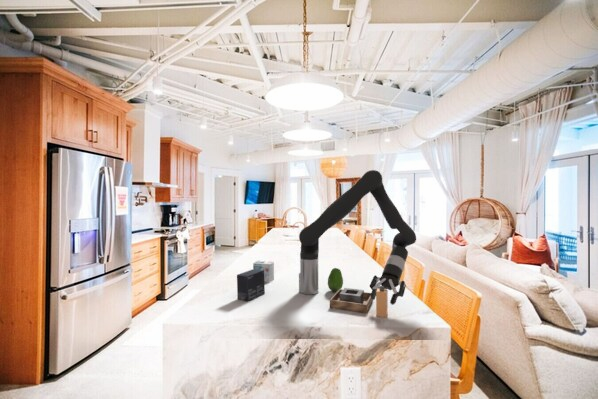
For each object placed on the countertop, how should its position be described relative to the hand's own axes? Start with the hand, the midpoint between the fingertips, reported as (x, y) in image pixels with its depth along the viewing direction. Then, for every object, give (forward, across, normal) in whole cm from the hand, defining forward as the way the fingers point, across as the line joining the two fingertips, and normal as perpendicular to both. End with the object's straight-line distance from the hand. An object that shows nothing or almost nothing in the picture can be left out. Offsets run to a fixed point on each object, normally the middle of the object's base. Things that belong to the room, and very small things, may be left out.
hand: (381, 301), depth 120 cm
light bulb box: (+4, -74, +4) cm, 75 cm away
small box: (+20, -58, -11) cm, 62 cm away
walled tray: (+3, -16, +5) cm, 17 cm away
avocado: (-4, -32, +12) cm, 35 cm away
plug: (+4, 0, +4) cm, 6 cm away
